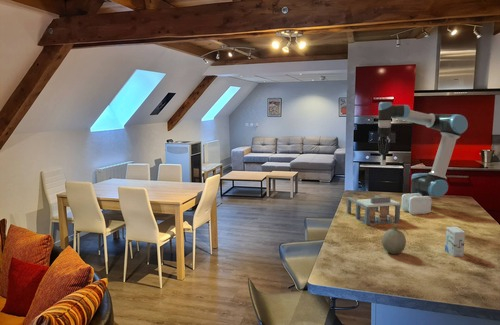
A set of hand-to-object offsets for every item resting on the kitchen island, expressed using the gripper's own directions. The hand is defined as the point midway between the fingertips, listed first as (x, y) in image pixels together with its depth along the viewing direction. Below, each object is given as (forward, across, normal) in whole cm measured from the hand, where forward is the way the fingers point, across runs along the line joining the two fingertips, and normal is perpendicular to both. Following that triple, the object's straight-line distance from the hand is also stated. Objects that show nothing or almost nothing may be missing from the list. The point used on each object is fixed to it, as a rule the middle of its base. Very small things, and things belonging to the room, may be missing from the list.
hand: (383, 164), depth 243 cm
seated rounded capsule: (+32, +12, -14) cm, 37 cm away
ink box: (+33, +67, 0) cm, 75 cm away
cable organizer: (+33, -1, +25) cm, 41 cm away
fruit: (+33, +61, -27) cm, 74 cm away
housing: (+32, +5, -10) cm, 34 cm away
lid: (+21, +12, -9) cm, 26 cm away
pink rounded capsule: (+32, +12, -6) cm, 34 cm away
